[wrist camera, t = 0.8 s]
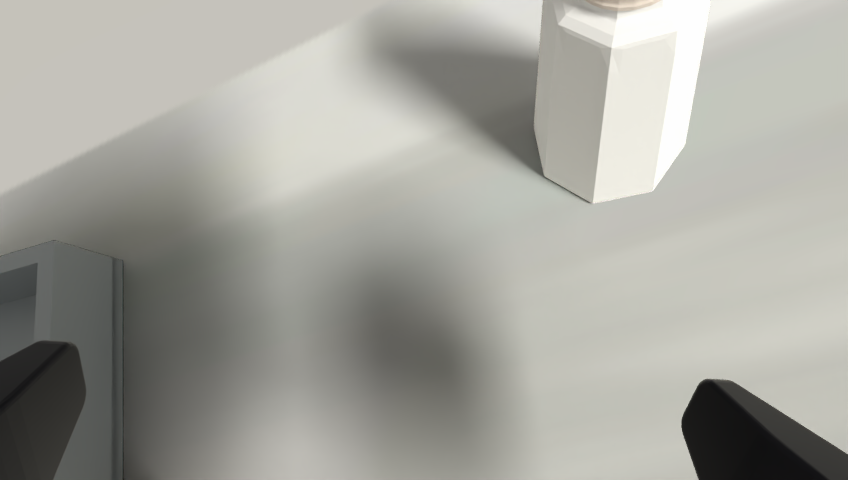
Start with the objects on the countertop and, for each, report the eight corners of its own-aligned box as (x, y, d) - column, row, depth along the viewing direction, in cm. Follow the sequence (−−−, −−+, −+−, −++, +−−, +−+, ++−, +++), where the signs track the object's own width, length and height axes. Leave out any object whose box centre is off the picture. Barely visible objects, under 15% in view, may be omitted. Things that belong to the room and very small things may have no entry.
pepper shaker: (718, 150, 19) (882, -127, 9) (586, 234, 20) (600, 60, 9) (623, 47, 21) (670, -277, 11) (505, 125, 22) (444, -116, 11)
